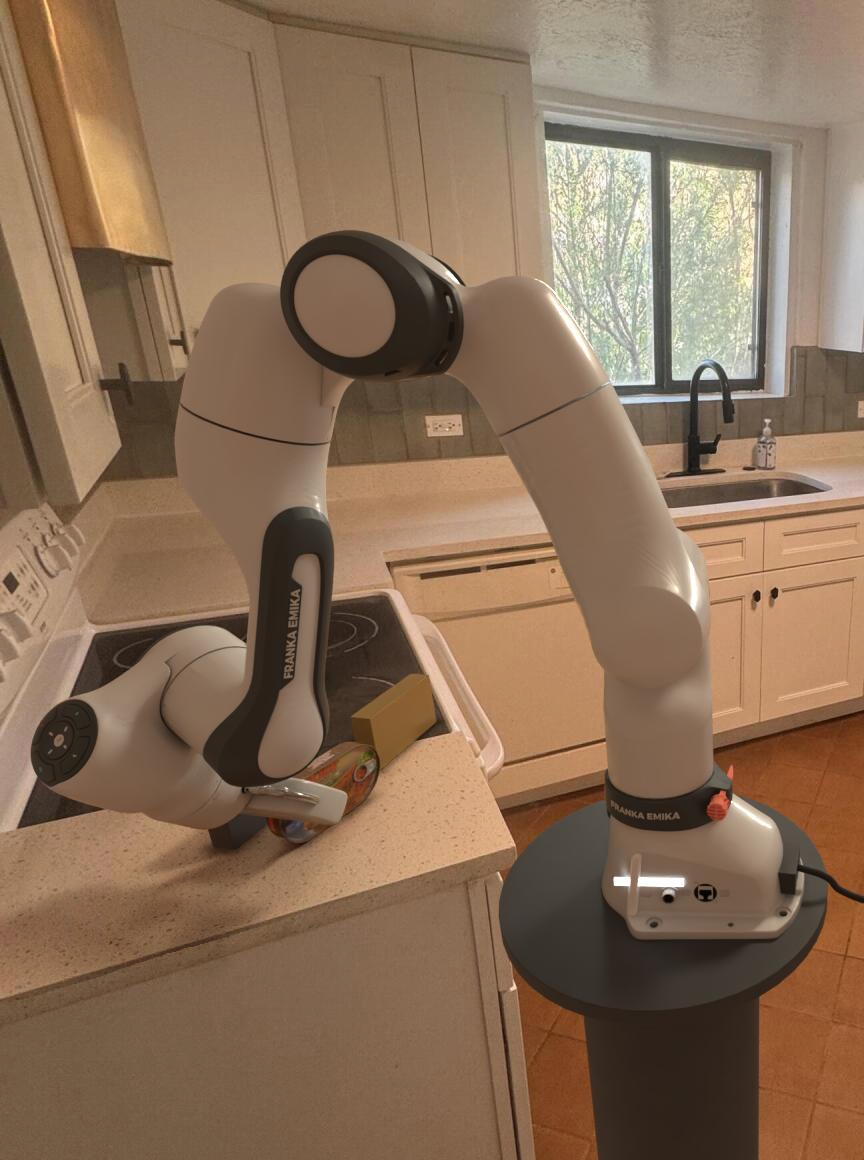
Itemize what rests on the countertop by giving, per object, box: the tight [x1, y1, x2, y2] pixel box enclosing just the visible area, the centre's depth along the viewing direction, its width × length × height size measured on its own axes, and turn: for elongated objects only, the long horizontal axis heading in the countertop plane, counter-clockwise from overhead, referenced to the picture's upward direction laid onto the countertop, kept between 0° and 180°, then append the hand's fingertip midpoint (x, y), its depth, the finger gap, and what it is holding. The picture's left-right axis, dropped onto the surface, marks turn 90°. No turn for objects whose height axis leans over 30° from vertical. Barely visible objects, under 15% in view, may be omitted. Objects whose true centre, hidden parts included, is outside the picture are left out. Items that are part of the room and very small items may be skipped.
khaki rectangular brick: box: [349, 672, 437, 771], centre depth 112 cm, size 3×14×8 cm, turn 169°
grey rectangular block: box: [207, 755, 319, 851], centre depth 97 cm, size 3×15×5 cm, turn 169°
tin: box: [266, 741, 381, 844], centre depth 95 cm, size 15×3×8 cm, turn 161°
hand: (295, 808), depth 91 cm, fingers closed on tin, 3 cm apart
